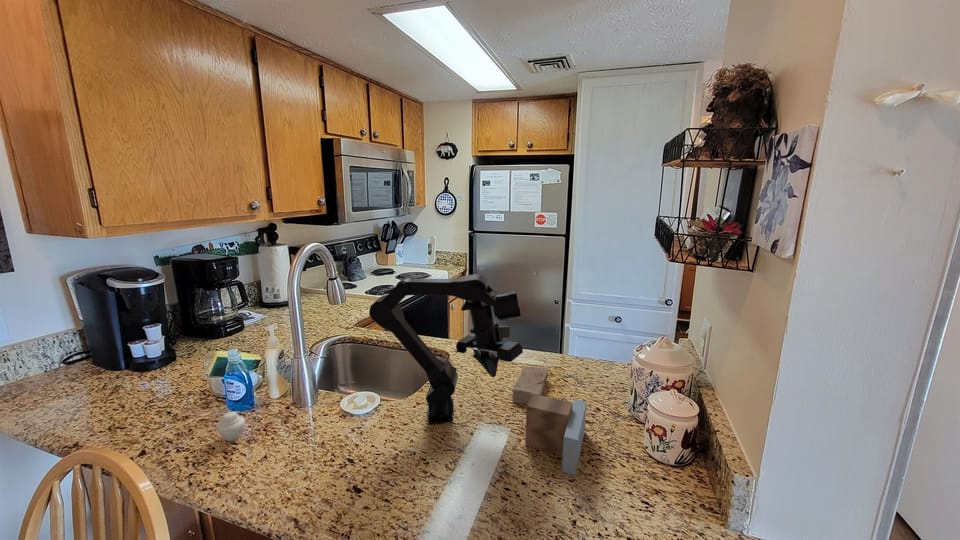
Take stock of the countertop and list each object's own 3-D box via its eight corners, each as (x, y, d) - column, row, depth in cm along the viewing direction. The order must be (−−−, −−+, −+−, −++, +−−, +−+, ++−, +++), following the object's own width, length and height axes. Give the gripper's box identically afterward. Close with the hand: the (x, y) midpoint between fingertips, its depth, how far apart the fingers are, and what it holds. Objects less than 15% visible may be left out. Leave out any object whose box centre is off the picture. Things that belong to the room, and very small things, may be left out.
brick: (539, 408, 110) (539, 393, 109) (511, 402, 113) (511, 388, 112) (548, 381, 125) (548, 368, 124) (523, 377, 128) (523, 364, 127)
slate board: (561, 471, 85) (563, 436, 83) (572, 429, 100) (574, 399, 98) (575, 475, 84) (577, 440, 82) (584, 432, 99) (586, 401, 97)
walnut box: (525, 445, 94) (526, 406, 91) (531, 431, 99) (532, 393, 97) (565, 456, 90) (568, 415, 88) (569, 440, 96) (572, 402, 93)
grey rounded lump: (251, 435, 98) (247, 411, 96) (225, 448, 93) (221, 423, 91) (240, 426, 101) (236, 403, 100) (214, 439, 96) (209, 414, 95)
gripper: (529, 314, 98) (538, 368, 102) (475, 309, 111) (485, 358, 114) (504, 330, 90) (515, 389, 93) (449, 324, 102) (461, 375, 106)
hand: (493, 376), depth 102 cm, fingers closed
